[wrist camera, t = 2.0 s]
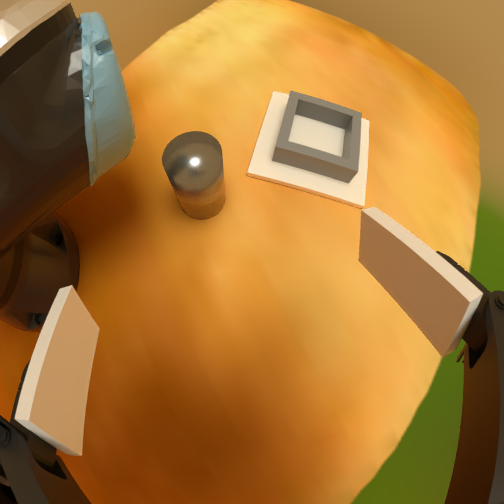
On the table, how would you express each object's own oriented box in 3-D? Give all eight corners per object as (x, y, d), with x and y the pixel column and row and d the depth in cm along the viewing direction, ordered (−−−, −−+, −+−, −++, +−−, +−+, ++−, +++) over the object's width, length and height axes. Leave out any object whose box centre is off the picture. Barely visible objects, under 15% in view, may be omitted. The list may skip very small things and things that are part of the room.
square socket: (246, 175, 31) (248, 158, 28) (272, 94, 34) (276, 75, 31) (361, 208, 31) (375, 196, 28) (367, 123, 34) (377, 108, 31)
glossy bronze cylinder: (174, 213, 30) (153, 175, 21) (189, 174, 31) (175, 127, 22) (217, 224, 30) (211, 187, 21) (230, 183, 31) (229, 137, 22)
